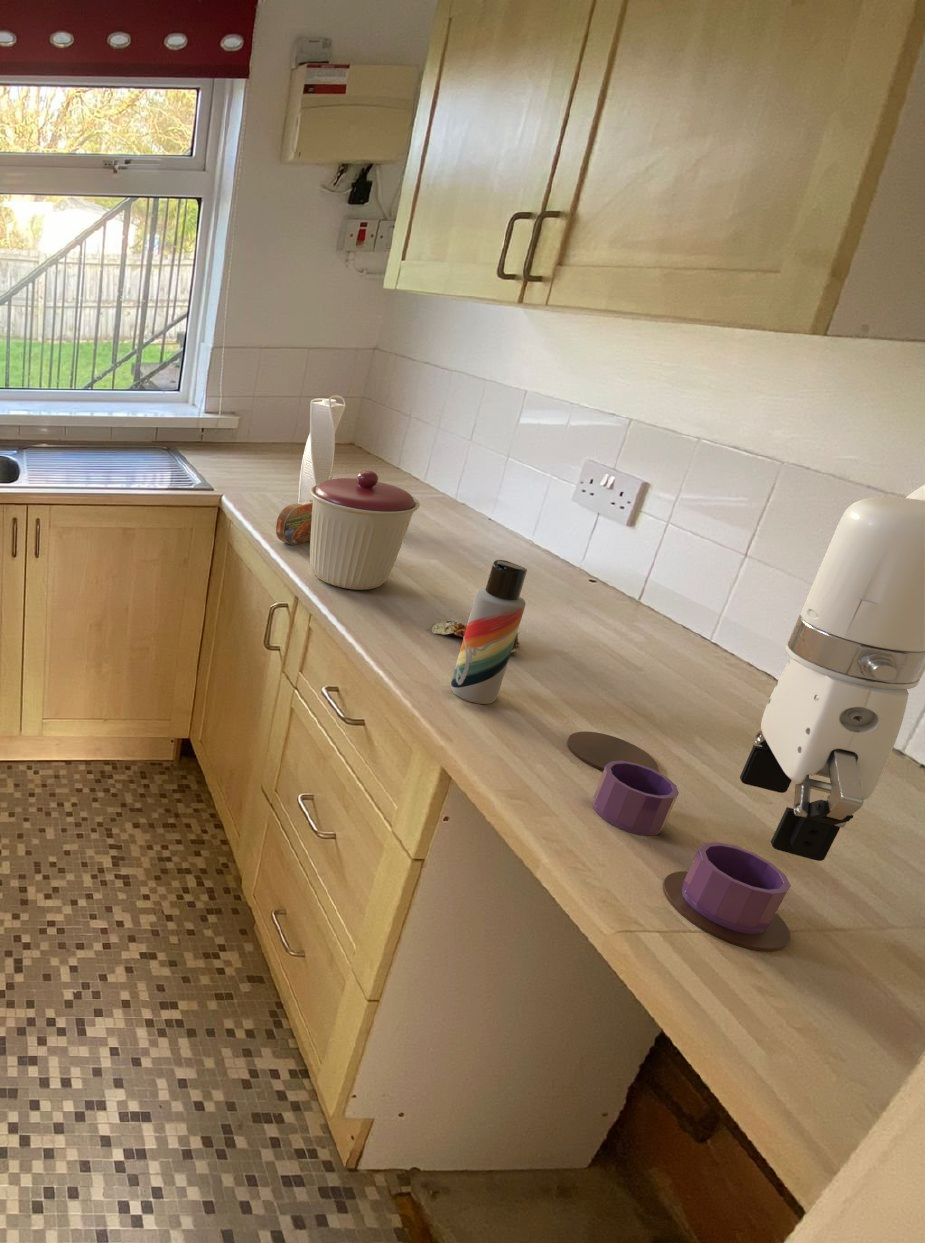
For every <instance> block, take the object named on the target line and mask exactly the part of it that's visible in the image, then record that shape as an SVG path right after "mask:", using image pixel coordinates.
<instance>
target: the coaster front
mask: <svg viewBox="0 0 925 1243" xmlns="http://www.w3.org/2000/svg"><path fill="white" fill-rule="evenodd" d="M688 871H689V870H688ZM688 871H686V870H685V871H683V870H682V871H681V870H680V871H675V872H672V873H670V874H668V875H666V877H665V878H664V880H663V883H662V890H663V893H664V896H665V897H666V899H667V901H668V902H669V903H670V905H671V906H672V907H673V908H674V909H675V910H676V911H677V912H678V913H679V914H680V915H681V916H683V917H684V918H685V919H686V920H687V921H689V922H690V923H692V924H693V925H695V926H696V927H698V928H699V929H701V930H703V931H704V932H706V933H708V934H710V935H712V936H714V937H716V938H717V939H719V940H721V941H724V942H726V943H729V944H732V945H735V946H739V947H741V948H744V949H749V950H752V951H760V952H776V951H779V950H782V949H784V948H785V947H786V946H788V944H789V942H790V939H791V932H790V929H789V927H788V925H787V924H786V921H784V920H783V918H782V917H781V916H780V915H779V914H778V912H777V913H776V915H775V917H774V919H773V921H772V922H771V924H770V925H769V927H768V929H767V930H766V931H765V932H764V933H761V934H745V933H740V932H736V931H733V930H730V929H727V928H725V927H722V926H720V925H718V924H716V923H714V922H712V921H710V920H709V919H707V918H705V917H704V916H702V915H701V914H700V913H698V912H697V911H696V910H695V909H693V908H692V907H691V906H690V905H689V904H688V903H687V901H686V900H685V899H684V897H683V895H682V891H681V889H682V886H683V882H684V880H685V877H686V875H687V873H688Z"/></svg>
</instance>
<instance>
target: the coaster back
mask: <svg viewBox="0 0 925 1243" xmlns="http://www.w3.org/2000/svg"><path fill="white" fill-rule="evenodd" d="M566 743H567V747H568V749H569V750H570V751H571V753H572V754H574V756H576V757H577V758H578V759H580V760H581V761H582V762H583V763H585V764H587V765H589V766H591V767H593V768H594V769H597V770H600V771H602V772H603V771H604V768H605V766H606V765H607V764H608V763H610V762H611V761H627V762H632V763H637V764H640V765H643V766H646V767H648V768H651V769H653V770H655V771H657V772H659V766H658V763H657V761H656V760H655V759H654V758H653V756H652V755H650V754H649V753H648V752H646V751H645V750H643V749H642V748H640V746H637V745H635V744H634V743H631V742H630V741H627V740H625V739H622V738H619V737H617V736H613V735H610V734H606V733H602V732H596V731H588V730H587V731H586V730H585V731H576V732H573V733H571V734H570V735H569V736H568V738H567V740H566Z"/></svg>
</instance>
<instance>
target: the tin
mask: <svg viewBox="0 0 925 1243" xmlns="http://www.w3.org/2000/svg"><path fill="white" fill-rule="evenodd" d="M312 506H313V500H309V501H304V502H300V503H298V502H296V503H292V504H288V505H287V506H285V507H284V508H283V509H282V510H281V511H280V512H279V514H278V516H277V518H276V520H277V521H276V525H275V534H276V537H277V538H278V539H279V541H281V542H282V543H283V542H284V543H286V544H288V545H290V546H295V545H299V544H303V543H306V542H310V539H311V522H312Z"/></svg>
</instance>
